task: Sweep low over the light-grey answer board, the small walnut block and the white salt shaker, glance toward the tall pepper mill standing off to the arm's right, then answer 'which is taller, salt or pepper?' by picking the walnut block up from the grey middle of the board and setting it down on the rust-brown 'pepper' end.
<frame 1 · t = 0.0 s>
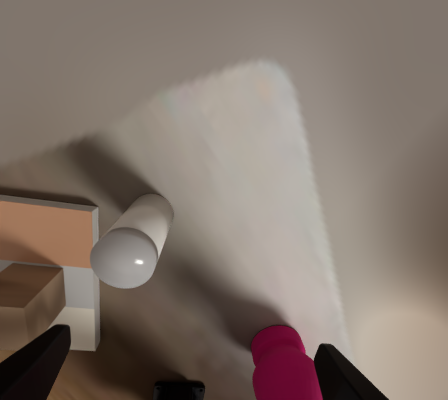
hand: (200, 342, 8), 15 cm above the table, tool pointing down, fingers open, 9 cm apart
block: (40, 284, 23), point 1 cm above the table, touching answer board
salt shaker: (152, 213, 22), on the table
pepper mill: (275, 342, 29), on the table
answer board: (48, 276, 24), on the table
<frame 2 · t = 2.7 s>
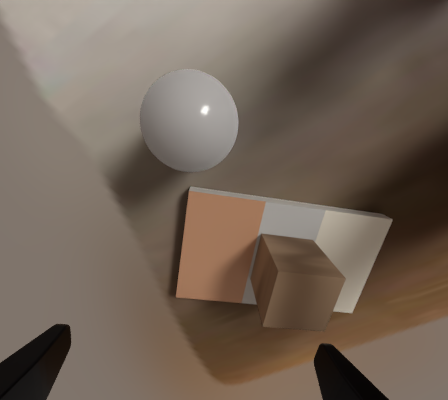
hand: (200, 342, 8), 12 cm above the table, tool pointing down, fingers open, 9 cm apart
block: (280, 259, 20), point 1 cm above the table, touching answer board
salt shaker: (198, 121, 17), on the table
answer board: (276, 251, 21), on the table
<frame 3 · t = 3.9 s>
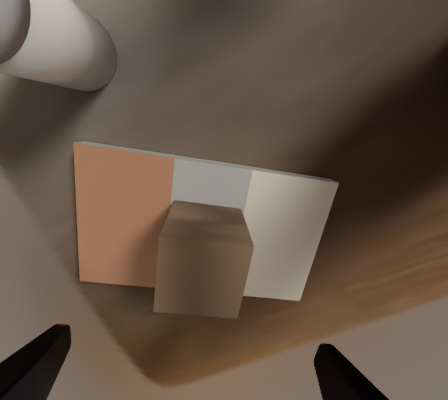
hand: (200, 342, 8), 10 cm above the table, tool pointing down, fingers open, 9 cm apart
block: (203, 234, 16), point 1 cm above the table, touching answer board
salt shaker: (81, 53, 13), on the table
answer board: (204, 226, 18), on the table
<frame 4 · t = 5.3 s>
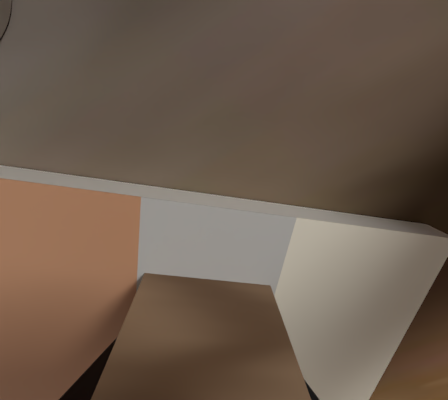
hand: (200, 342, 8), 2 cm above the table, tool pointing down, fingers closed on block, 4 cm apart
block: (201, 327, 9), point 1 cm above the table, touching answer board, gripper
answer board: (202, 302, 10), on the table
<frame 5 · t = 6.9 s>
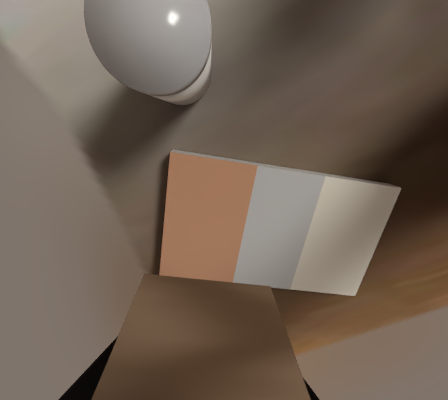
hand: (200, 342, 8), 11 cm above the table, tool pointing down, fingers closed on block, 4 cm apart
block: (201, 328, 9), point 10 cm above the table, touching gripper
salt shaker: (180, 71, 15), on the table
answer board: (271, 226, 19), on the table
when the fingers open (3 cm above the table, at t = 8.5 s): block drops 2 cm, resting on answer board.
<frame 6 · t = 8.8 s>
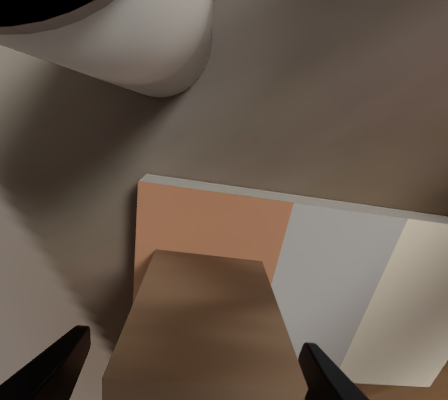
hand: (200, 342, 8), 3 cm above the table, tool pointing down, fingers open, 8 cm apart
block: (202, 298, 10), point 1 cm above the table, touching answer board
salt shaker: (154, 34, 8), on the table
answer board: (306, 289, 12), on the table
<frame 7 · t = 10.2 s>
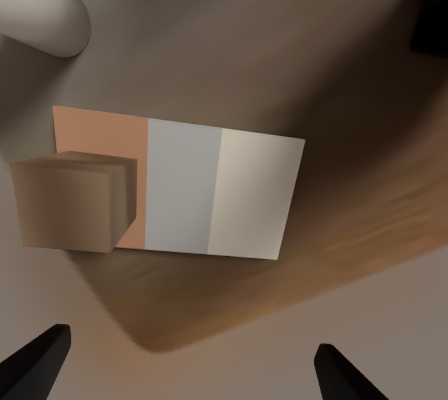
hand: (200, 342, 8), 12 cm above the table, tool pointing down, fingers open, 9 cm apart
block: (104, 186, 17), point 1 cm above the table, touching answer board
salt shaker: (56, 20, 14), on the table
answer board: (182, 188, 18), on the table
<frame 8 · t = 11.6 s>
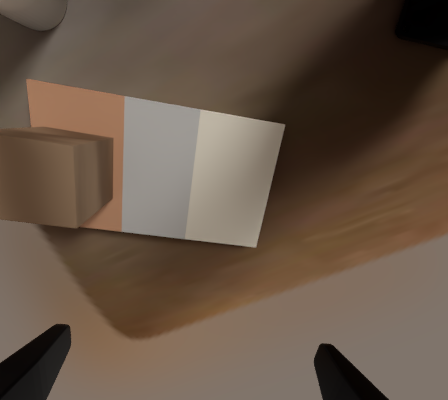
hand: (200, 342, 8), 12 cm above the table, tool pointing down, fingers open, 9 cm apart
block: (80, 164, 17), point 1 cm above the table, touching answer board
answer board: (161, 171, 18), on the table
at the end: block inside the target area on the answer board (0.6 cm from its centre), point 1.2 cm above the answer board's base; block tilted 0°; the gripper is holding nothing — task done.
